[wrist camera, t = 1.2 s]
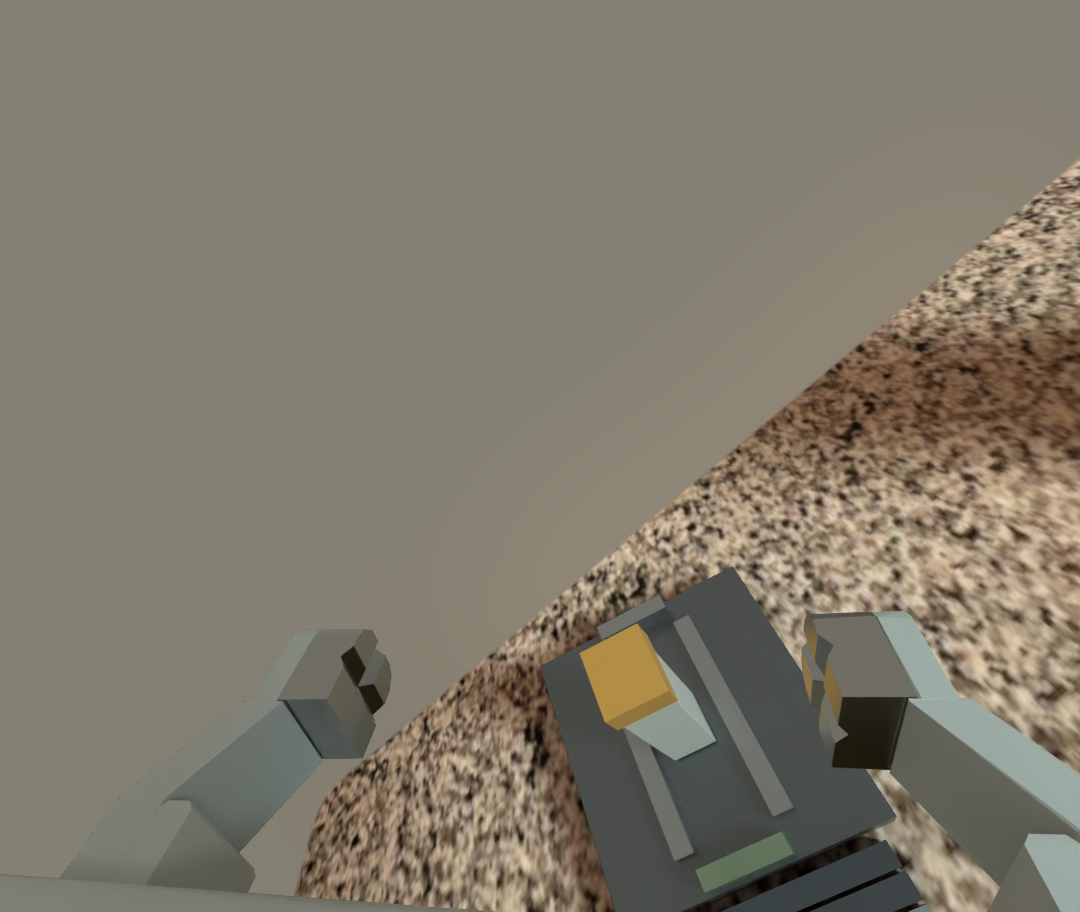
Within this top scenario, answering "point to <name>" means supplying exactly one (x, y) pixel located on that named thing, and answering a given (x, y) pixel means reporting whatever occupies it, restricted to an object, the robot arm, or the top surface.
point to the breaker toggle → (645, 694)
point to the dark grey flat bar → (843, 887)
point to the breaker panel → (709, 760)
